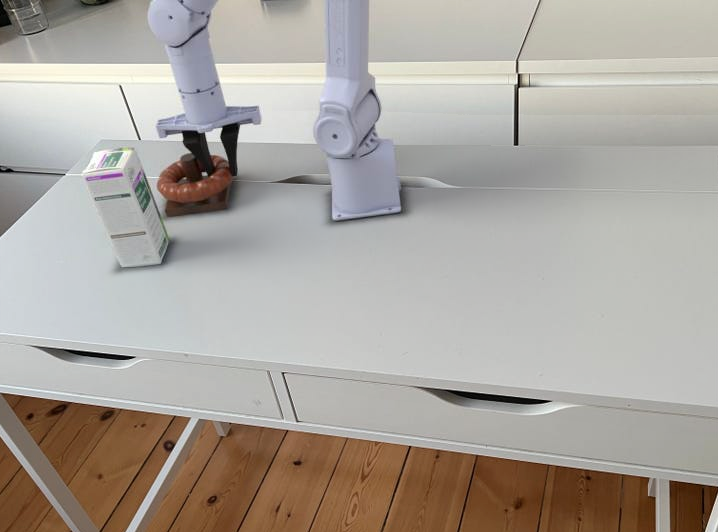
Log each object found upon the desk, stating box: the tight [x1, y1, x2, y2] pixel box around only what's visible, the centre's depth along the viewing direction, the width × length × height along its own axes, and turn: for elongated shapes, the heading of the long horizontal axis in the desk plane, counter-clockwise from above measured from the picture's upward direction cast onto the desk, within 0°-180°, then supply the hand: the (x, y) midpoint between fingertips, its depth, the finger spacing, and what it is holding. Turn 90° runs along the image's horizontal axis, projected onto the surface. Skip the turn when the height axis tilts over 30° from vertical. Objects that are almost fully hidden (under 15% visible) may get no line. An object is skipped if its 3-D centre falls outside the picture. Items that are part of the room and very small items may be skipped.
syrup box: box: [80, 147, 170, 268], centre depth 101 cm, size 6×6×14 cm
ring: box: [156, 154, 233, 203], centre depth 114 cm, size 11×11×3 cm
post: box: [164, 152, 234, 218], centre depth 114 cm, size 9×9×7 cm
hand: (223, 174), depth 114 cm, fingers closed on ring, 3 cm apart
